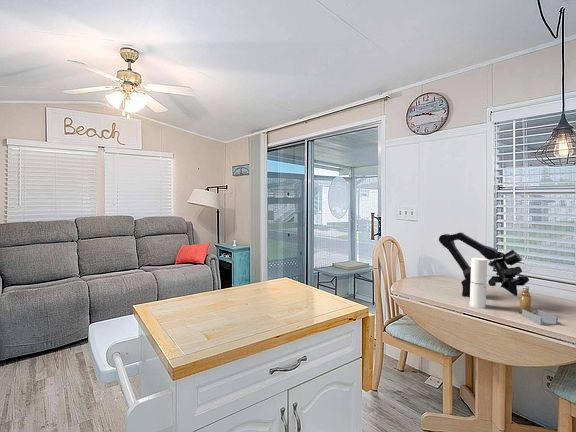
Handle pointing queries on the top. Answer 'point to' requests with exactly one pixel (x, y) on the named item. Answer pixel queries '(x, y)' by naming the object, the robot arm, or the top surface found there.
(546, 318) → the grey cradle
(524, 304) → the amber bottle
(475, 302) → the cylindrical container
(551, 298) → the top surface
